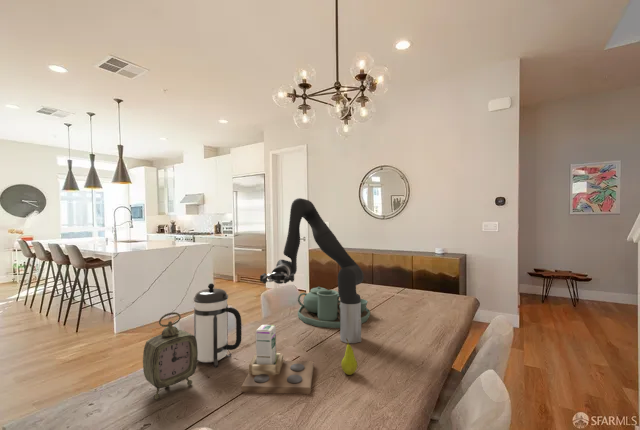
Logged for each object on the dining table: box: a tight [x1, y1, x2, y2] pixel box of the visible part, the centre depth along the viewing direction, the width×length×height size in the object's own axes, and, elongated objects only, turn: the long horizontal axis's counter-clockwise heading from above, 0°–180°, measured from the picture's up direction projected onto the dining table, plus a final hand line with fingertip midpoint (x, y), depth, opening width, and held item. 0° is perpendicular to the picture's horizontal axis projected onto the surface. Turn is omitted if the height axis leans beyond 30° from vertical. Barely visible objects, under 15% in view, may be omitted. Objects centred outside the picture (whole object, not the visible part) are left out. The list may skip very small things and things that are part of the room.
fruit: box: [340, 339, 358, 376], centre depth 114 cm, size 6×6×12 cm
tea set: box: [297, 286, 371, 329], centre depth 179 cm, size 40×40×16 cm
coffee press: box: [192, 282, 243, 368], centre depth 125 cm, size 17×16×30 cm
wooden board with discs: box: [241, 352, 315, 395], centre depth 111 cm, size 22×18×5 cm
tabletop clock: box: [142, 311, 198, 400], centre depth 104 cm, size 14×9×25 cm, turn 139°
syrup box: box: [255, 324, 277, 365], centre depth 115 cm, size 6×6×14 cm
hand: (274, 280), depth 130 cm, fingers open, 8 cm apart
